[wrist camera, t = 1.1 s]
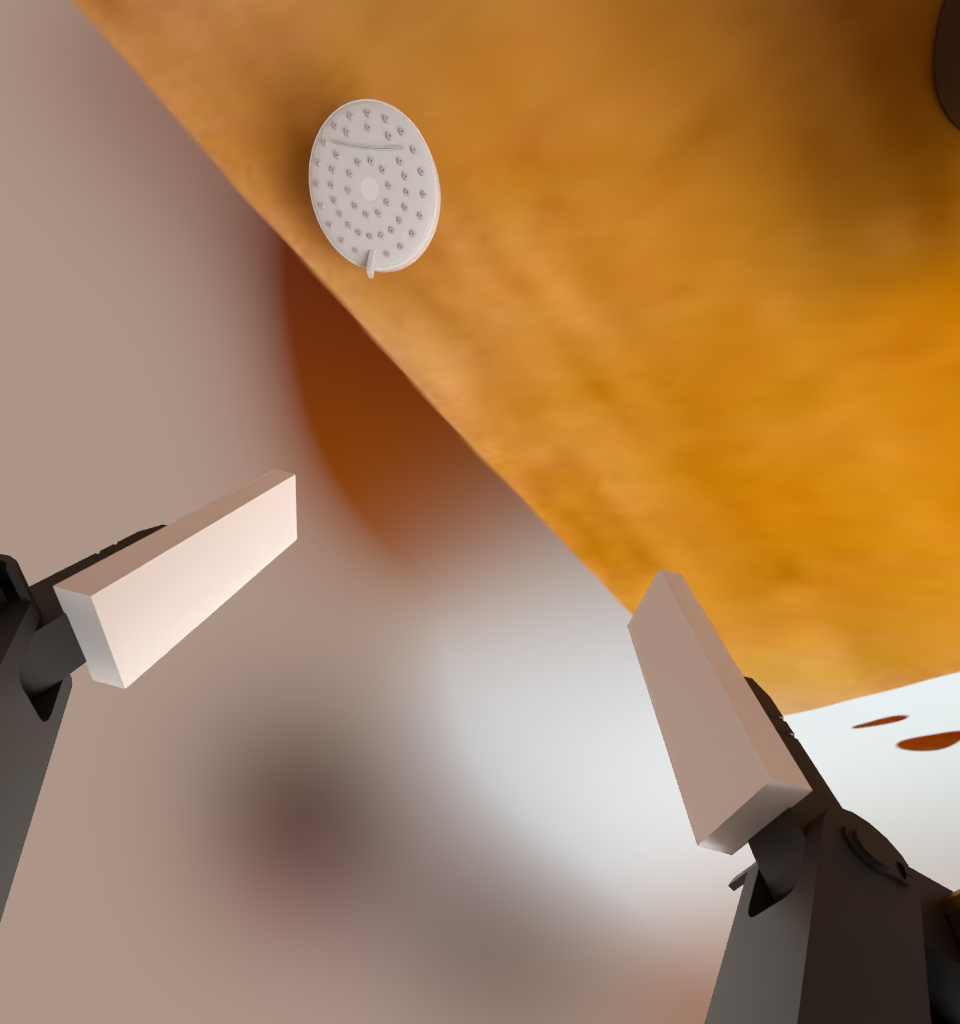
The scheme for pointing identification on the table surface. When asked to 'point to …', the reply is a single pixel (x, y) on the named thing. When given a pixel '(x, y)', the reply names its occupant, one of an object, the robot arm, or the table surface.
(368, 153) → the showerhead
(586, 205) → the table surface
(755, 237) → the table surface
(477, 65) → the table surface
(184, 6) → the table surface
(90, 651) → the robot arm
